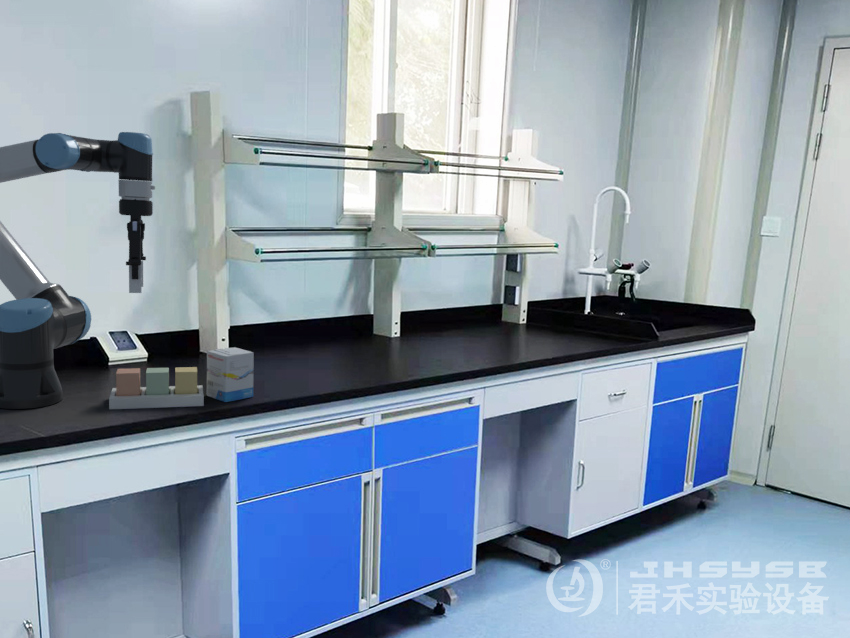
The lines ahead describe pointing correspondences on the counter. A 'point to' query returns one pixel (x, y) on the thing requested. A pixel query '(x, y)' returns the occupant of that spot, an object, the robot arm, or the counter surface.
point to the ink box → (230, 374)
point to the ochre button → (186, 380)
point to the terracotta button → (128, 382)
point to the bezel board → (156, 399)
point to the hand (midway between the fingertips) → (136, 289)
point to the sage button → (157, 381)
